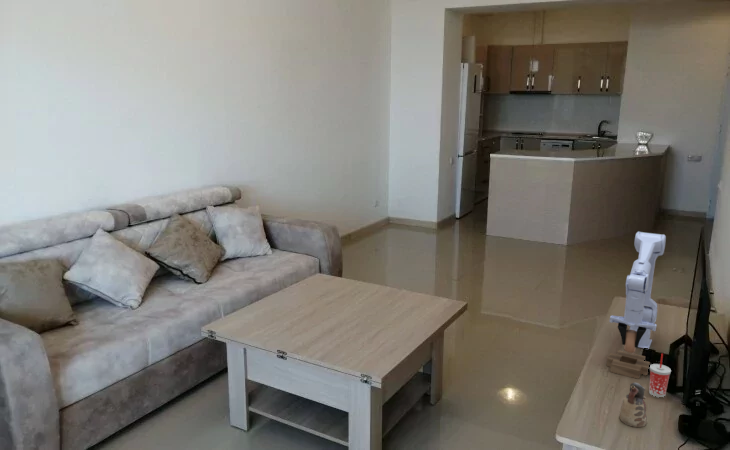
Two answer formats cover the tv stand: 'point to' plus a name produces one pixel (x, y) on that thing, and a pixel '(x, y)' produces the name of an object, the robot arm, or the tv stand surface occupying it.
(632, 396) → the figurine
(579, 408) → the tv stand surface
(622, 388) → the tv stand surface
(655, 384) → the beverage cup
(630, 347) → the peg
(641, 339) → the robot arm
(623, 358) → the socket block
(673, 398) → the tv stand surface
